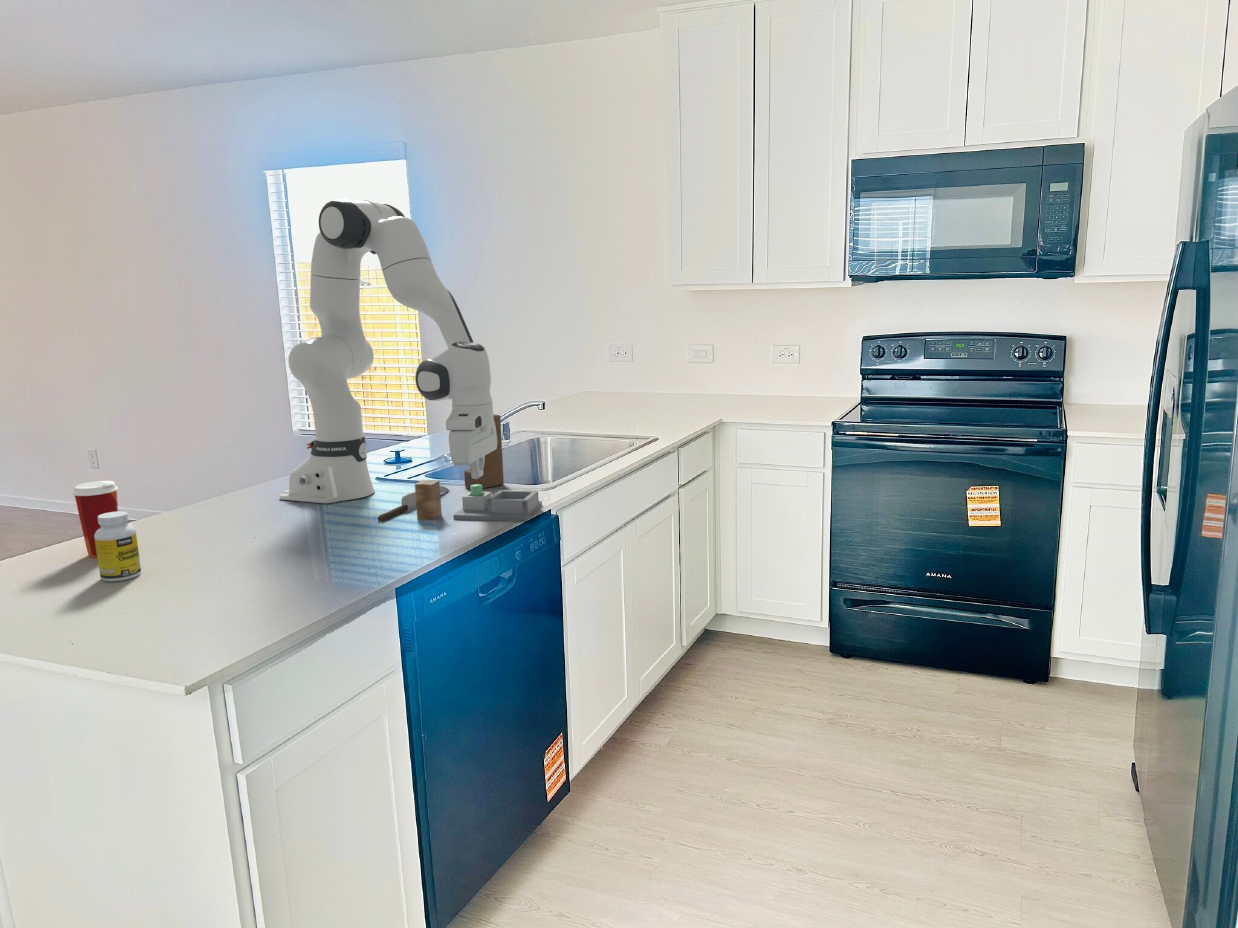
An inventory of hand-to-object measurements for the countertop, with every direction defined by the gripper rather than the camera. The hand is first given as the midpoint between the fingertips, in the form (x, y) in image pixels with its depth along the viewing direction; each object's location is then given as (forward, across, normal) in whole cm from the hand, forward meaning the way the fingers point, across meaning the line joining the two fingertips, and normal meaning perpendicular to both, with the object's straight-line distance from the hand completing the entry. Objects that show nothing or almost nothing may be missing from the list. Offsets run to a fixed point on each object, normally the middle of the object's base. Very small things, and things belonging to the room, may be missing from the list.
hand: (477, 477), depth 195 cm
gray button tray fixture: (+8, 0, +4) cm, 9 cm away
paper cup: (+7, +39, -64) cm, 75 cm away
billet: (+8, +6, -10) cm, 14 cm away
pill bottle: (+7, +51, -50) cm, 72 cm away
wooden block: (+8, -24, -8) cm, 26 cm away
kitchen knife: (+8, -4, -17) cm, 19 cm away
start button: (+5, 0, -1) cm, 5 cm away
